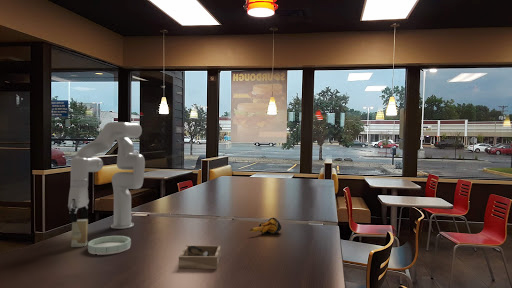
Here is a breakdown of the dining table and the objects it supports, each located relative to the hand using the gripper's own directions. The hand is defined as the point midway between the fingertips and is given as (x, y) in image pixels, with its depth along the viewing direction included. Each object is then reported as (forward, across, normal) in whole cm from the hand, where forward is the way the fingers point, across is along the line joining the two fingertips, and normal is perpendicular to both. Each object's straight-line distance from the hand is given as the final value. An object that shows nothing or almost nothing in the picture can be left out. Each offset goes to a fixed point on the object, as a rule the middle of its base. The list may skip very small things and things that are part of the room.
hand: (78, 219), depth 164 cm
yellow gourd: (+12, -23, +89) cm, 93 cm away
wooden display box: (+13, +20, +61) cm, 66 cm away
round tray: (+12, +3, +16) cm, 21 cm away
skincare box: (+13, -1, 0) cm, 13 cm away
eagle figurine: (+13, +20, +60) cm, 65 cm away
